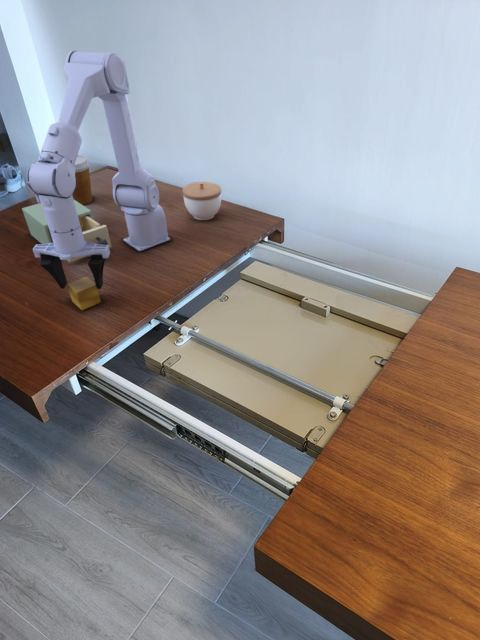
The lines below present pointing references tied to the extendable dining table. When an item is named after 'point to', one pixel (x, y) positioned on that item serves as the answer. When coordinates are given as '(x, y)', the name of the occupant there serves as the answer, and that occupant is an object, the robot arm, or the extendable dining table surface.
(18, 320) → the extendable dining table surface
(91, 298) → the block
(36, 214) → the cabinet
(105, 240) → the drawer
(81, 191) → the disposable coffee cup
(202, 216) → the trinket box
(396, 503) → the extendable dining table surface
